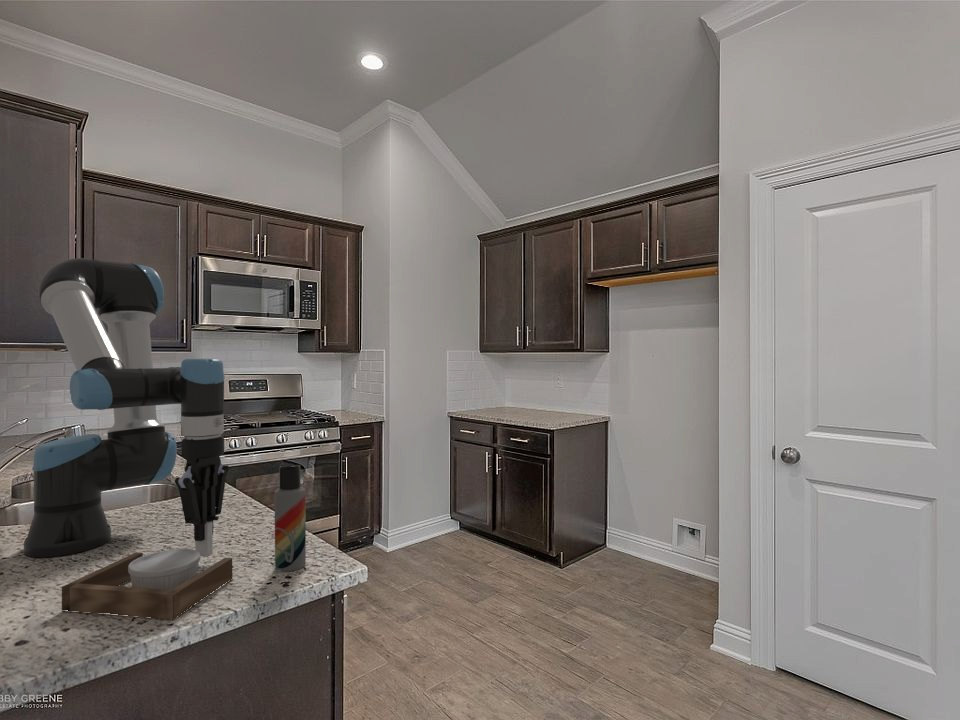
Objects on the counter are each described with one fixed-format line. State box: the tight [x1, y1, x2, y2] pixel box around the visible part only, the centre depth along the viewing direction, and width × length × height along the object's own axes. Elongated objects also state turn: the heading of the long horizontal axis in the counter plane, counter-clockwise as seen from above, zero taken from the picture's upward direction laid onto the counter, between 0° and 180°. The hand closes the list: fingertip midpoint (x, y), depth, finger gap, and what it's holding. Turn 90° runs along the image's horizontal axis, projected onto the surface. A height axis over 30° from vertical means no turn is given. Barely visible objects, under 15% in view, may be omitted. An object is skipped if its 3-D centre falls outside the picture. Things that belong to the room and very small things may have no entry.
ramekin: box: [128, 548, 201, 590], centre depth 95 cm, size 11×11×5 cm
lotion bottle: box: [274, 464, 307, 572], centre depth 104 cm, size 6×6×20 cm
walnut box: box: [61, 552, 233, 620], centre depth 92 cm, size 20×15×4 cm
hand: (204, 554), depth 106 cm, fingers closed
